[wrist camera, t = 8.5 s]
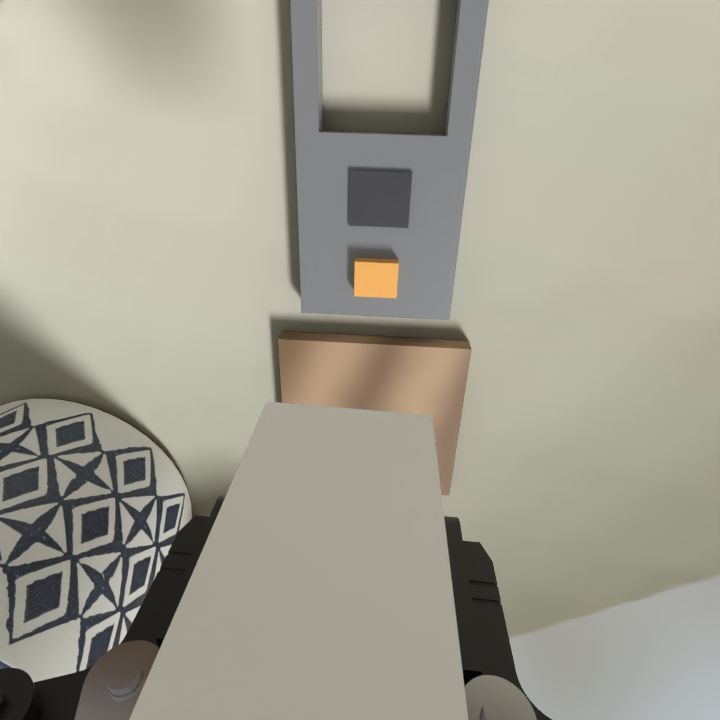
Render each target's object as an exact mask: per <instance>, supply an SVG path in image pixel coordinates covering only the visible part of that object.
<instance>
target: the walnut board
mask: <svg viewBox="0 0 720 720" xmlns="http://www.w3.org/2000/svg"><path fill="white" fill-rule="evenodd" d="M278 348H279V365H280V381H281V397H282V403H291V404H303V405H315V406H328V407H340V408H352V409H364V410H376V411H388V412H400V413H412V414H424V415H432V419H433V428H434V436H435V444H436V453H437V461H438V469H439V478H440V486H441V494H442V495H449V493H450V486H451V480H452V473H453V467H454V460H455V453H456V447H457V440H458V434H459V427H460V420H461V414H462V407H463V401H464V394H465V388H466V381H467V374H468V368H469V361H470V355H471V347H470V343H469V341H462V340H443V339H424V338H404V337H385V336H366V335H347V334H327V333H308V332H289V331H282V332H281V334H280V336H279V338H278Z"/></svg>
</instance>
